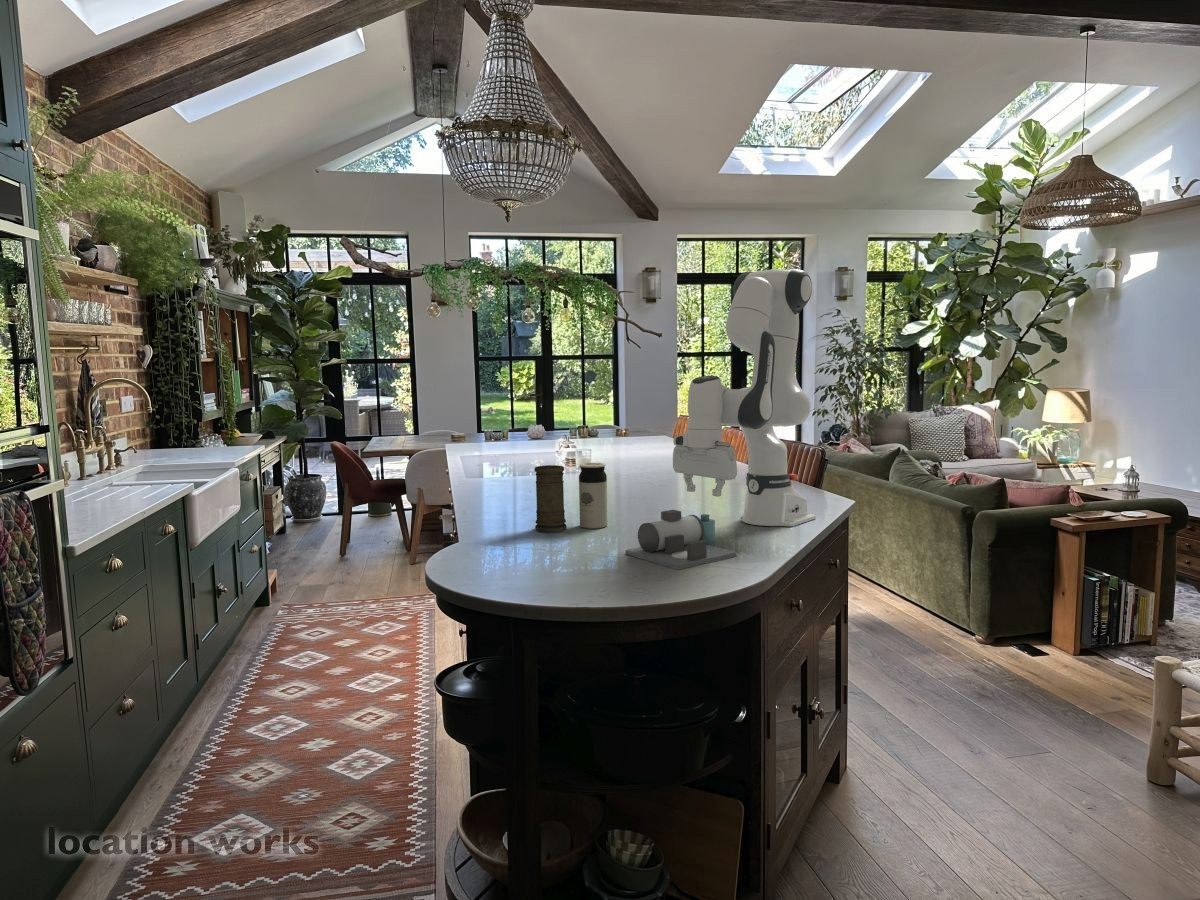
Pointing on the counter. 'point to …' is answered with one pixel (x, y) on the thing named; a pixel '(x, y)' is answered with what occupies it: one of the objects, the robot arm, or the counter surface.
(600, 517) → the travel mug
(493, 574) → the counter surface
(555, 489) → the container
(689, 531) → the motor unit
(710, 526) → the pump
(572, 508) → the counter surface
